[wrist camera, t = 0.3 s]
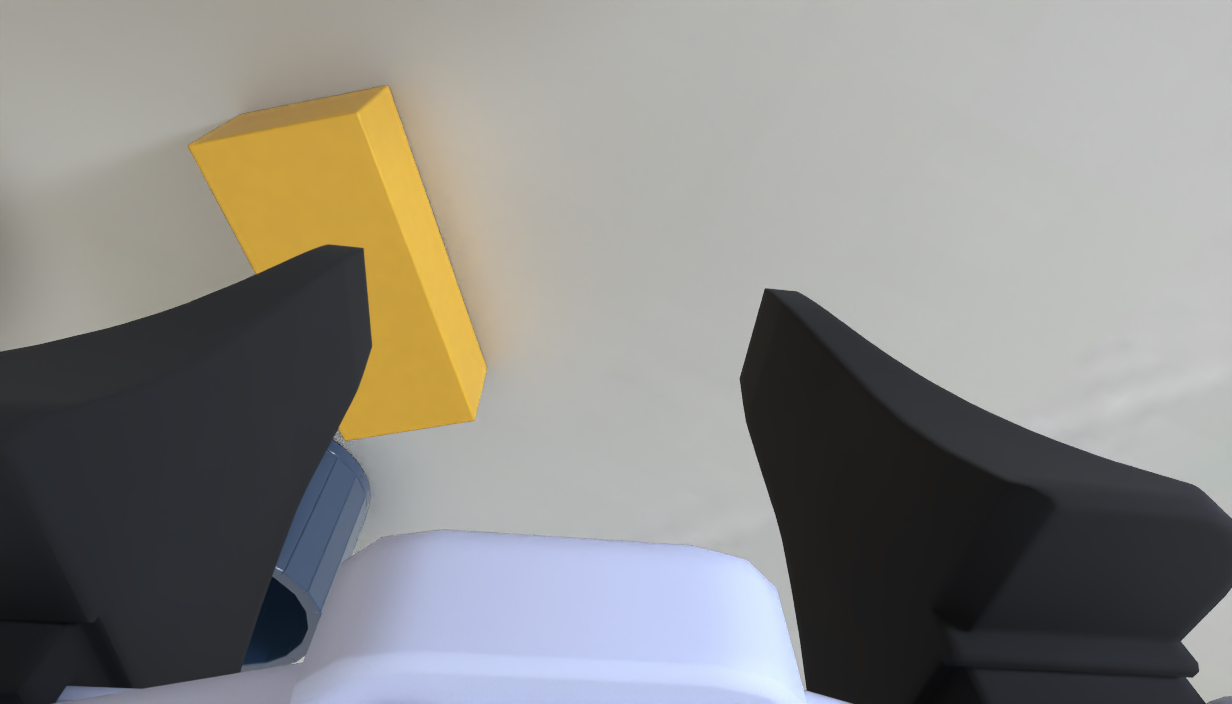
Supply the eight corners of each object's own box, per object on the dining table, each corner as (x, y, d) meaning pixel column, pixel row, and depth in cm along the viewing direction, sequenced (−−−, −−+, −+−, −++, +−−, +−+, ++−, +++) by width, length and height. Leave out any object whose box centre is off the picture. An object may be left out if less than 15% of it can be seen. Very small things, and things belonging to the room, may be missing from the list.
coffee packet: (487, 368, 24) (475, 421, 22) (369, 387, 25) (344, 441, 22) (388, 84, 19) (357, 111, 16) (238, 114, 19) (185, 145, 17)
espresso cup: (372, 549, 30) (327, 679, 25) (205, 533, 29) (124, 665, 24) (368, 429, 26) (314, 554, 21) (175, 407, 25) (71, 532, 20)
